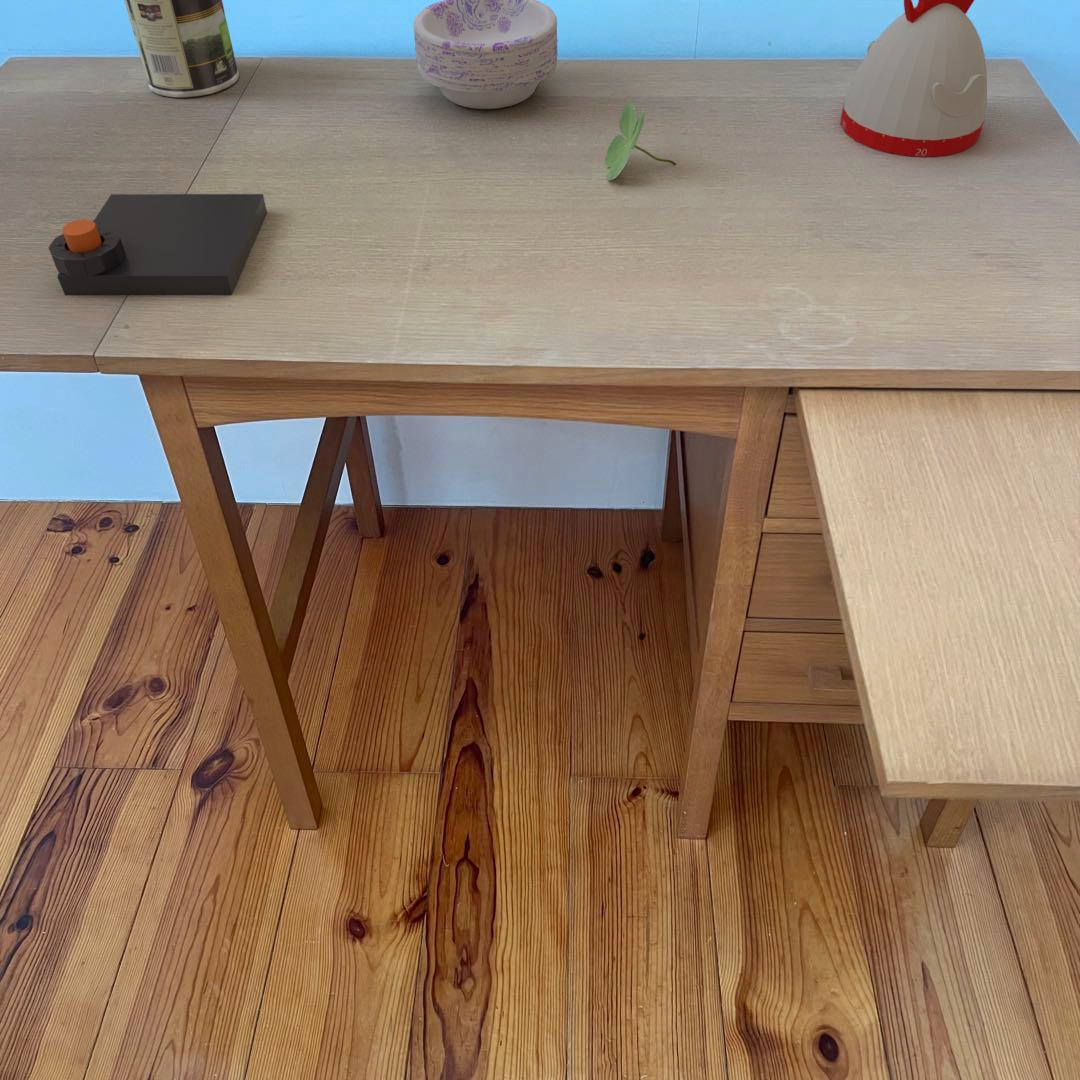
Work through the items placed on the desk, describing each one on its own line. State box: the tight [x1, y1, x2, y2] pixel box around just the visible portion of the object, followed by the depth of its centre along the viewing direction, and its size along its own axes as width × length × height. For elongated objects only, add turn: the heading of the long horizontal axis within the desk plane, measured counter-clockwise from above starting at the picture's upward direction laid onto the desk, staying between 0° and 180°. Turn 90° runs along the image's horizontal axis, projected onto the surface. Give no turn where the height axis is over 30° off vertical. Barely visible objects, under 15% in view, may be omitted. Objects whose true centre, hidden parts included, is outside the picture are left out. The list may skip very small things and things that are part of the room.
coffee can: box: [123, 0, 240, 99], centre depth 110 cm, size 10×10×14 cm
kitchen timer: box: [840, 0, 988, 158], centre depth 98 cm, size 14×14×15 cm
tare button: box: [61, 218, 102, 253], centre depth 82 cm, size 3×3×2 cm
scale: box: [48, 193, 268, 296], centre depth 87 cm, size 15×14×4 cm
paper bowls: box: [412, 0, 559, 110], centre depth 108 cm, size 15×15×8 cm
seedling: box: [604, 100, 677, 182], centre depth 97 cm, size 7×8×6 cm
